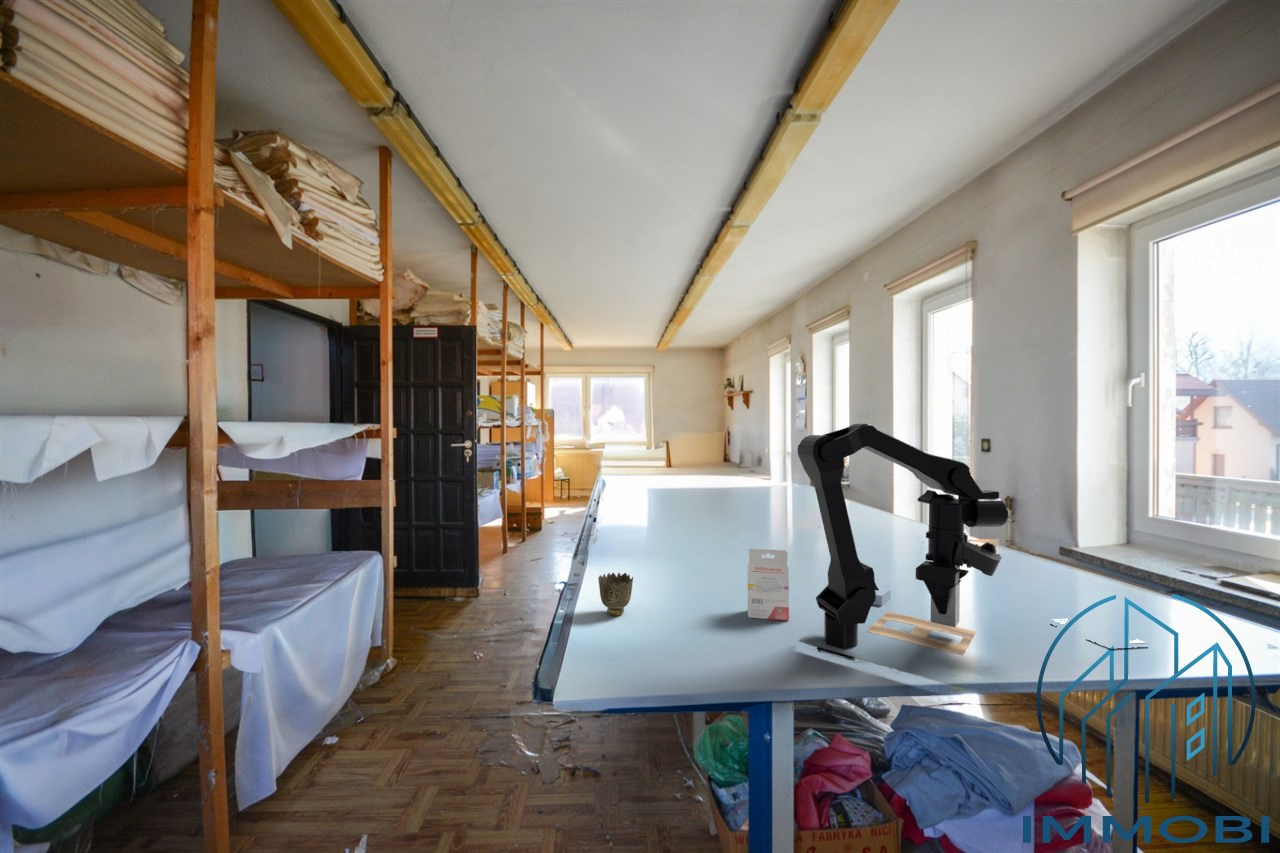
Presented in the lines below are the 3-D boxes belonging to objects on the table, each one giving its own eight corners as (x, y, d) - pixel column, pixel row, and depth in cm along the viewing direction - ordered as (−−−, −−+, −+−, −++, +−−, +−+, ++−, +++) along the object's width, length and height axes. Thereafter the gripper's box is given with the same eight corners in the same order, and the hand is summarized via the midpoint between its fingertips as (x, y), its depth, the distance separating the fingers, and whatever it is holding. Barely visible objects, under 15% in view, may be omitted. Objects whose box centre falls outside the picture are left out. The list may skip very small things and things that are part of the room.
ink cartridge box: (788, 613, 115) (788, 545, 115) (789, 621, 110) (789, 550, 110) (747, 609, 117) (748, 543, 117) (747, 617, 112) (747, 548, 112)
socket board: (962, 663, 91) (963, 655, 91) (866, 639, 101) (866, 631, 101) (976, 639, 102) (976, 631, 102) (887, 618, 112) (887, 611, 112)
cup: (637, 617, 112) (638, 579, 112) (604, 622, 109) (604, 583, 109) (625, 606, 119) (626, 570, 119) (594, 610, 116) (594, 573, 116)
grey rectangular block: (955, 627, 96) (955, 583, 96) (930, 622, 99) (931, 579, 99) (959, 621, 99) (959, 578, 99) (935, 616, 102) (935, 574, 102)
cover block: (881, 614, 115) (882, 595, 115) (844, 605, 121) (845, 588, 121) (890, 607, 120) (890, 589, 120) (854, 599, 125) (854, 582, 125)
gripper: (990, 542, 87) (989, 637, 87) (1004, 526, 101) (1003, 608, 101) (915, 532, 94) (914, 620, 94) (938, 518, 108) (937, 595, 108)
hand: (944, 610), depth 99 cm, fingers closed on grey rectangular block, 4 cm apart
